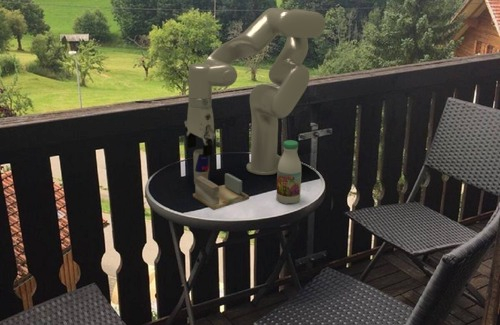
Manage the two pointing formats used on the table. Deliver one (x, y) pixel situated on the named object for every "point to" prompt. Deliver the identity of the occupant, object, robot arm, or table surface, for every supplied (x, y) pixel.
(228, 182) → the grey rectangular plate
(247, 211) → the table surface
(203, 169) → the energy drink
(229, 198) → the board
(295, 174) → the milk bottle
